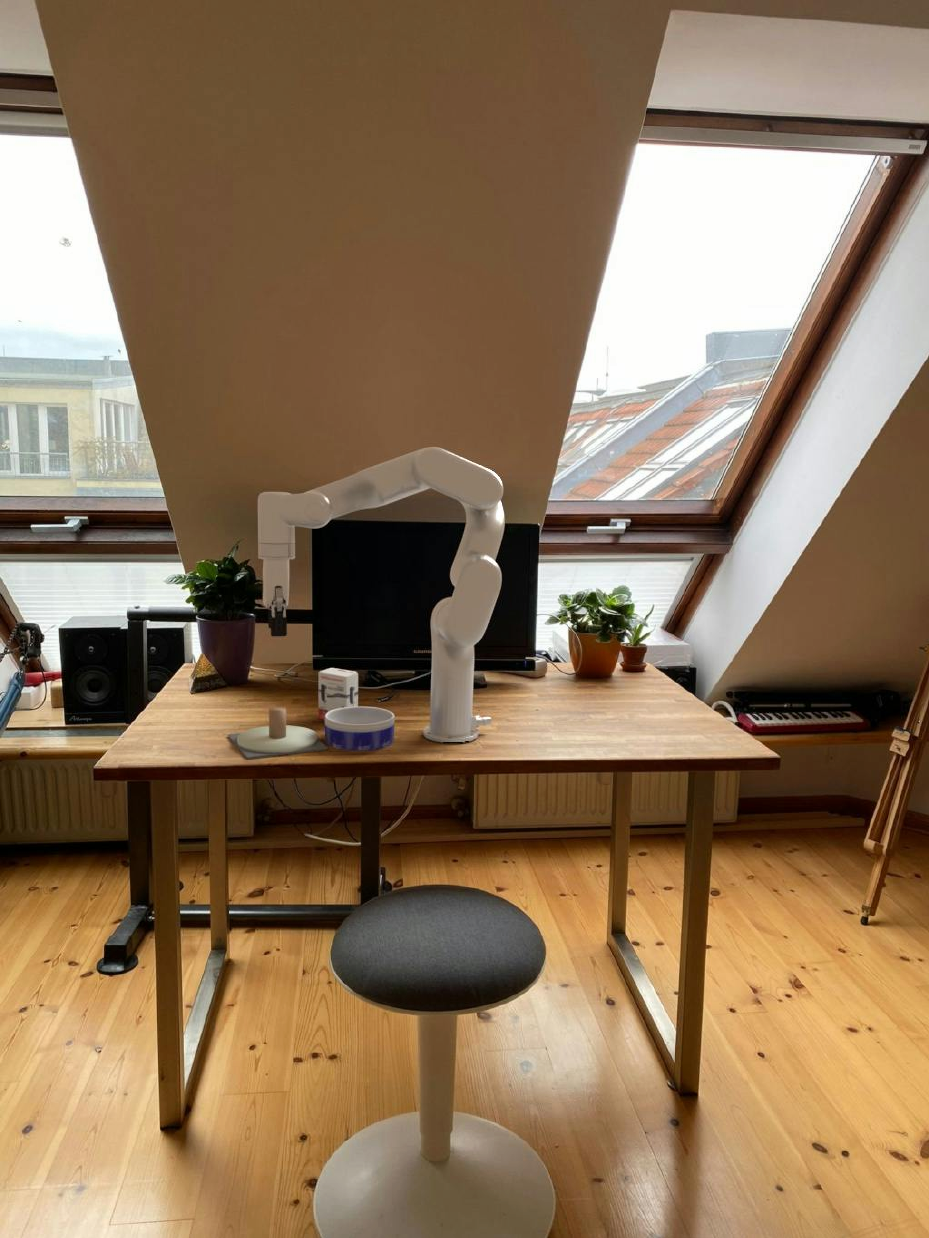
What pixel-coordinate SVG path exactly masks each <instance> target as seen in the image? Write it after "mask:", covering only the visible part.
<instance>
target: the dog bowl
mask: <svg viewBox="0 0 929 1238" xmlns="http://www.w3.org/2000/svg"><path fill="white" fill-rule="evenodd" d="M395 717H396V716H395V714H394V713H393V712H392V711H390V710H388V709H384V708H380V707H375V706H364V705H363V706H359V705H358V706H356V707H344V708H338V709H334V710H331V711H329V712H327V713H326V714H325V720H324V741H325V743H326V744H327V745H328V746H330V747H331V748H334V749H337V750H342V751H350V752H351V751H352V752H364V751H365V752H367V751H375V750H381V749H383V748H388V747H389V746H391V745H392V744H393V743H394V739H395V738H394V737H395V719H396V718H395Z"/></svg>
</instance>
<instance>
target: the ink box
mask: <svg viewBox="0 0 929 1238" xmlns="http://www.w3.org/2000/svg"><path fill="white" fill-rule="evenodd" d="M317 677H318V680H317V681H318V683H317V684H318V690H317V691H318V692H317V694H318V719H319V720H323V721H325V714H326V713H327V712H329V711H331V710H334V709H338V708H344V707H356V706H359V673H358V672H357V671H353V670H347V669H341V668H335V667H330V668H326V669H324V670H320V671H318V673H317Z"/></svg>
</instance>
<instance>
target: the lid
mask: <svg viewBox="0 0 929 1238" xmlns="http://www.w3.org/2000/svg"><path fill="white" fill-rule="evenodd" d="M239 733H240V734H239V735H238V736H237V744H238V746H240V747H241V748H243V749H246V750H249V751H253V752H261V753H287V752H294V751H299V750H303V749H306V748H309V747H311V746H313V745H314V744H316V742H317V739H318V734H317V732H316V731H315V730H313V729H310V728H307V727H304V726H303V727H300V726H297V725H289V724H288V725H287V709H286V708H285V707H271V708H269V709H268V725H265V726H257V727H255V728H254V727H252V728H250V729H247V730H244V731H242V732H239Z"/></svg>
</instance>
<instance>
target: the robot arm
mask: <svg viewBox="0 0 929 1238" xmlns="http://www.w3.org/2000/svg"><path fill="white" fill-rule="evenodd" d="M429 489H433V490H435V491H437V492H438V493H441V494H442V495H445V496H447V497H449V498H452V499H453V500H457V501H458V502H459V503H460V504H461V505H462V506H463V509H464V511H465V516H466V521H465V527H464V531H463V534H462V538H461V541H460V543H459V546H458V549H457V551H456V555H455V557H454V560H453V562H452V565H451V567H450V572H449V578H450V581H451V584H452V586H454V590H453V593H452V596H448V597H445V598H442V599H441V600H440V601H439V602H437V603H436V605H435V607H434V608H433V609H432V612H431V616H430V635H431V636H430V637H431V670H430V672H431V674H430V675H431V679H430V708H429V710H430V713H429V715H430V716H429V717H430V718H429V725H426V726H425V727H424V728H423V730H422V735H423V737H425V739H428V741H429V740H430V741H433V742H437V743H443V742H463V743H466V742H465V741H469V742H472V741H474V739H475V740H477V738H478V737H479V730H478V729H477V728H479V727H480V726H488V725H491V724H492V718H491V717H490V716H482V717H481V716H480V715H474V714H473V703H474V701H473V699H474V678H475V677H474V674H475V673H474V670H475V645H476V644H477V643H479V641H480V640H481V639H482V638H483V636H484V634H485V633H486V630H487V628H488V625H489V623H490V620H491V617H492V614H493V611H494V609H495V606H496V603H497V600H498V598H499V595H500V591H501V587H502V581H503V579H502V577H503V575H502V571H501V568H500V566H499V564H498V563H497V562H496V559H497V556H498V553H499V549H500V546H501V544H502V543H501V542H502V540H503V536H504V532H505V525H506V524H505V523H506V520H505V519H506V518H505V511H504V508H503V504H502V501H501V500H502V498H503V495H504V485H503V481H502V480H501V478H500V476H498V474H497V473H495V472H494V471H492V469H489V468H486V467H484V466H482V465H479V464H477V463H475V462H474V461H473V462H472V461H470V460H468V459H466V458H464V457H461V456H459V455H457V454H456V453H453V452H451V451H449V450H446V449H445V448H441V447H439V446H438V447H437V446H429V447H423V448H420V449H418V450H415V451H411V452H409V453H406V454H403V455H401V456H397V457H395V458H393V459H390V460H387V461H384V462H381V463H378V464H375V465H373V466H370V467H367V468H365V469H362V470H359V471H357V472H356V473H353V474H351V475H349V476H347V477H343V478H341V479H338V480H336V481H332V482H329V483H327V484H324V485H321V486H319V487H315V488H313V489H311V490H308V491H305V492H303V493H290V492H287V491H285V492H284V491H263V492H261V493H260V494H259V495H258V497H257V549H258V551H257V556H258V559H260V560H263V562H262V564H263V565H262V603H263V605H264V606H265V607H266V608H269V609H267V613H268V614H267V617H268V618H267V620H268V621H267V622H268V628H269V629H270V636H271V637H286V636H287V634H288V631H287V628H288V625H287V623H288V620H287V619H288V617H287V615H286V614H287V613H286V607H288V606H289V598H290V560H295V559H296V536H295V534H296V530H295V529H296V527H300V528H301V527H302V528H307V529H320V528H323V527H325V526H326V525H328V523H329V522H330V521H331V520H332V519H336V518H338V517H342V516H345V515H347V514H350V513H352V512H357V511H361V510H367V509H376V508H380V507H383V506H387V505H389V504H391V503H392V504H393V503H394V502H396V501H400V500H402V499H405V498H407V497H410V496H412V495H416V494H419V493H421V492H424V491H426V490H429Z"/></svg>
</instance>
